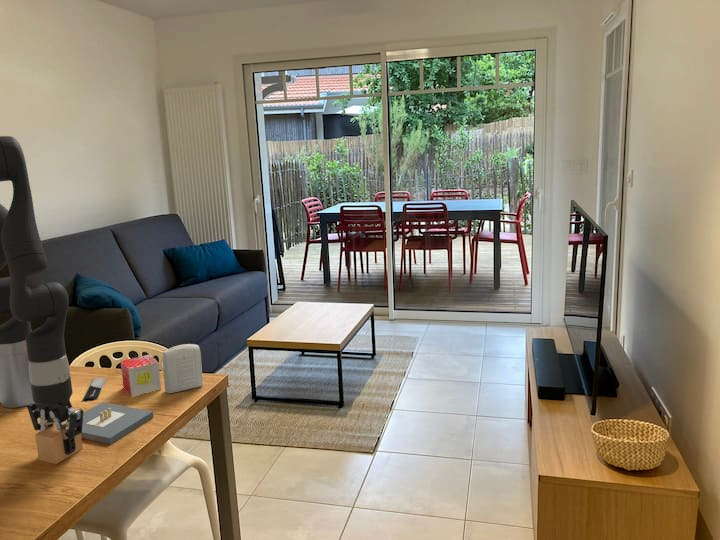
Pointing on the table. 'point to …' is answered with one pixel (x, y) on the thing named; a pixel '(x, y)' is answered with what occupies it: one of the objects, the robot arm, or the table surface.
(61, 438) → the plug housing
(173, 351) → the photo printer
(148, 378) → the red and white cube
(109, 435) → the board
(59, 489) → the table surface
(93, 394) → the computer memory module
